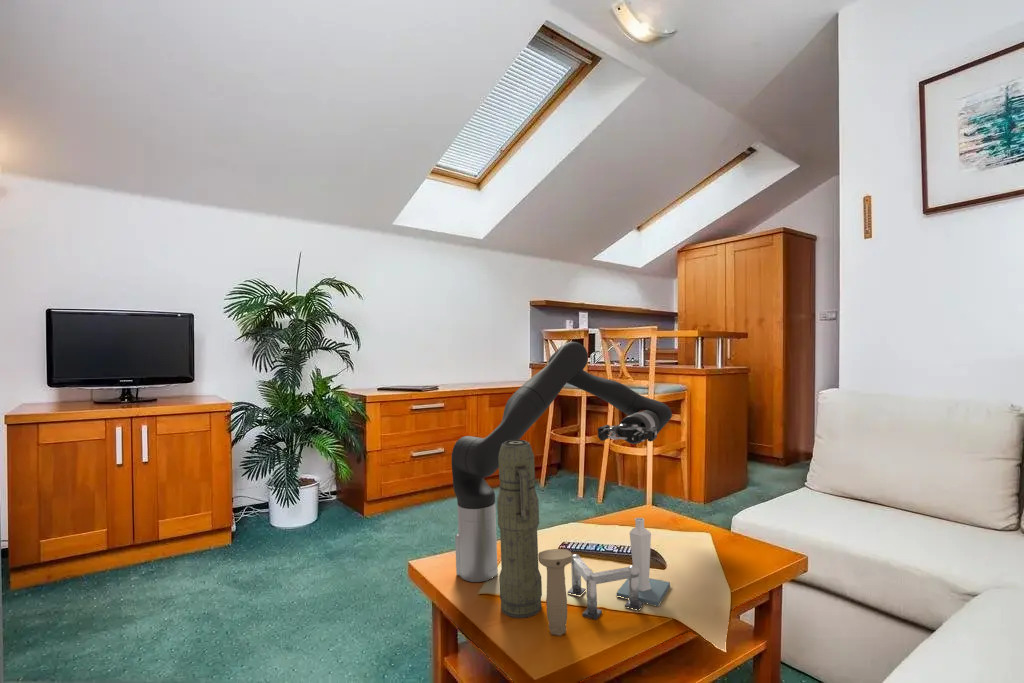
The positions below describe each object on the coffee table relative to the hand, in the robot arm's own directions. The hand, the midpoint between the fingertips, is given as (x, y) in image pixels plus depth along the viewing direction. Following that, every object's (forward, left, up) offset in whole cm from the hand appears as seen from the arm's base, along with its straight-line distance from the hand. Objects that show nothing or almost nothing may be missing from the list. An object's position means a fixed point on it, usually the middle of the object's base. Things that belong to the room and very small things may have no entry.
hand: (617, 437), depth 127 cm
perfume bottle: (+8, -9, -31) cm, 33 cm away
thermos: (-13, -27, -32) cm, 44 cm away
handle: (-2, -32, -32) cm, 46 cm away
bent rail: (+1, -20, -32) cm, 38 cm away
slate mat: (+8, -9, -32) cm, 34 cm away
